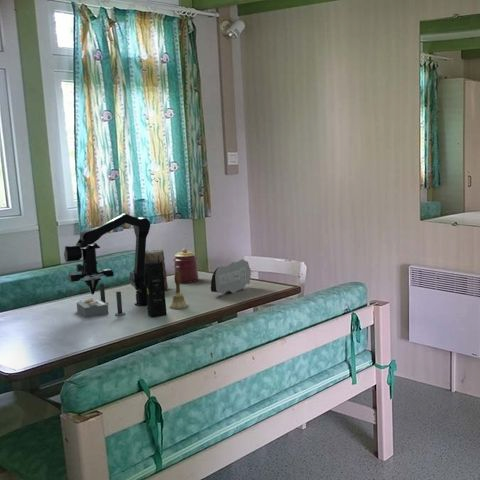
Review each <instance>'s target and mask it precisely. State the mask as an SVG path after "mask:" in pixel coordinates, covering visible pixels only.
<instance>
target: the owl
mask: <svg viewBox="0 0 480 480" xmlns="http://www.w3.org/2000/svg"><path fill="white" fill-rule="evenodd" d="M158 256H159V259H160V261H161V262H163V275H164V289H165V291H167V292H168V291H169V290H168V288H169V286H168V279H167V278H168V277H167V270H166V263H165V253H164V250H163V249H160V250H159V249H158V250H157V249H156V250H155V249H151V250H150V251H145V263H146V262H154V261H158Z"/></svg>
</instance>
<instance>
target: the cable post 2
mask: <svg viewBox="0 0 480 480" xmlns="http://www.w3.org/2000/svg"><path fill="white" fill-rule="evenodd" d="M115 296H116V308H117V312H116V313H114V316H116V317H122V316H123V317H124V316H126V312H124V311H123V301H122V292H121V291H119V290H118V291H116V292H115Z"/></svg>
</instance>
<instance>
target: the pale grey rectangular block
mask: <svg viewBox="0 0 480 480" xmlns="http://www.w3.org/2000/svg"><path fill="white" fill-rule="evenodd" d="M88 300H94V298H93V297H92V296H91V297H89V298H86V299H84V301H85V302H86V303H87V302H88Z"/></svg>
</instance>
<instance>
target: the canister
mask: <svg viewBox="0 0 480 480" xmlns="http://www.w3.org/2000/svg"><path fill="white" fill-rule="evenodd" d="M174 257H175V258H173V259H172V261H173V262H174V263H173V264H174V265H173V270H174V271H173V272H174V275H175V273H176V271H179V274H180V282H187V283H191V282H190V281H194V282H196V281H195V280H197V279H198V280H199V270H198V262H197V260H198V257H197V256H196V253H194V252H193V251H188V249H187V248H182V250H181V251H179V252H176V254H174ZM174 279H175V276H174ZM198 280H197V281H198Z"/></svg>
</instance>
